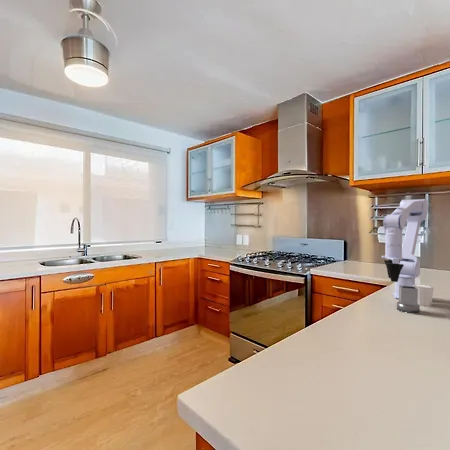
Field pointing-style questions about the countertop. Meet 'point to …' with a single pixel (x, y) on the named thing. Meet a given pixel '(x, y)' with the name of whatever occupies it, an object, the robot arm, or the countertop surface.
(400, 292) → the socket
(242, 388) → the countertop surface
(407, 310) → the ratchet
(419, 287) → the shot glass
